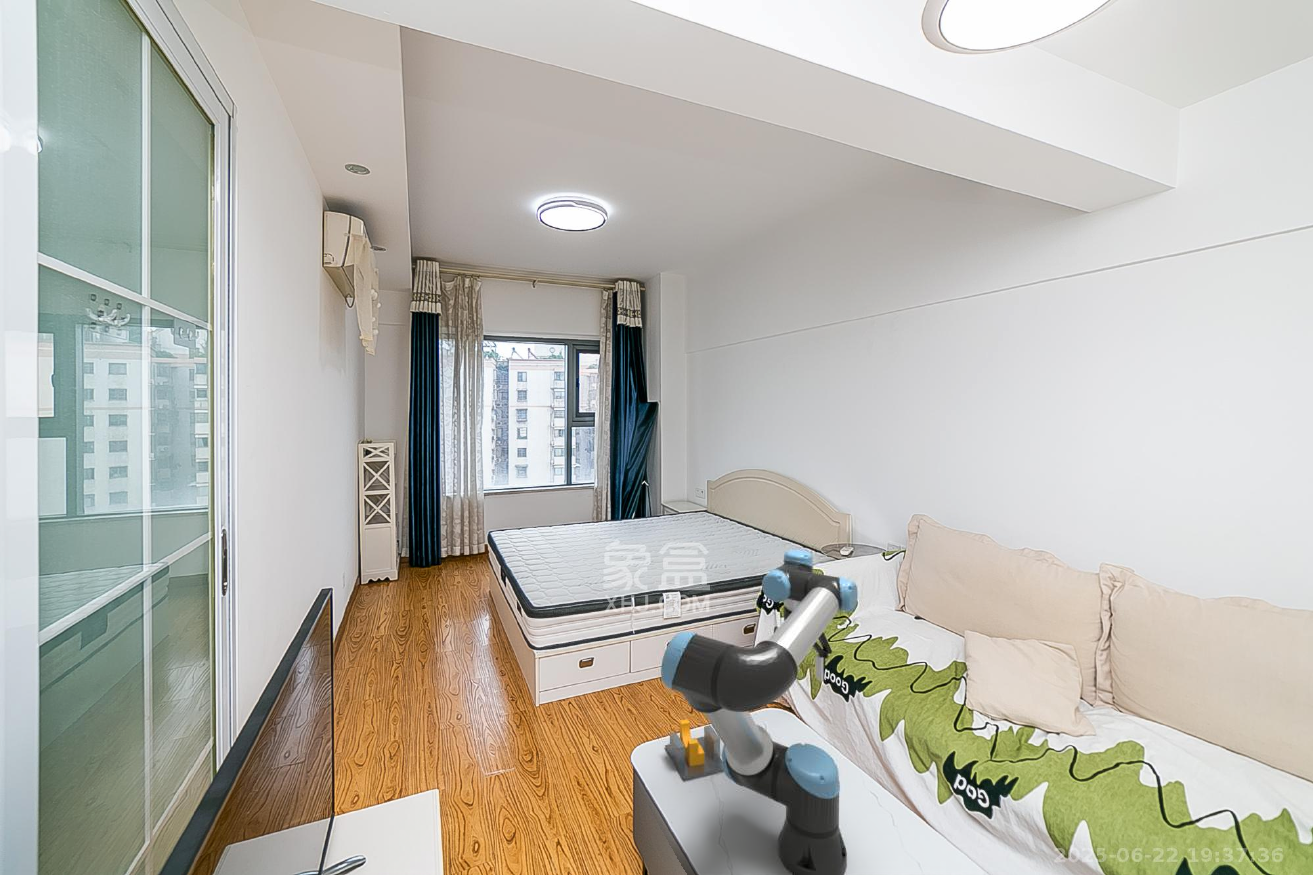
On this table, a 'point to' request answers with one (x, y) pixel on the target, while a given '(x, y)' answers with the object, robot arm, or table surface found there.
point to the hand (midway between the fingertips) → (798, 683)
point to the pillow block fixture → (711, 755)
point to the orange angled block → (691, 745)
